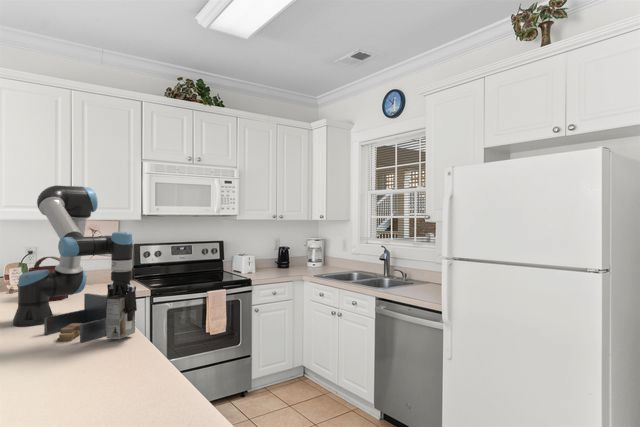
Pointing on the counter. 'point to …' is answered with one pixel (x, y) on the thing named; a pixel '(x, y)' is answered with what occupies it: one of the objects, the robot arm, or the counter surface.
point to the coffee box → (117, 318)
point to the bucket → (51, 269)
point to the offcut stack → (69, 332)
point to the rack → (83, 319)
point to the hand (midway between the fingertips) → (121, 327)
